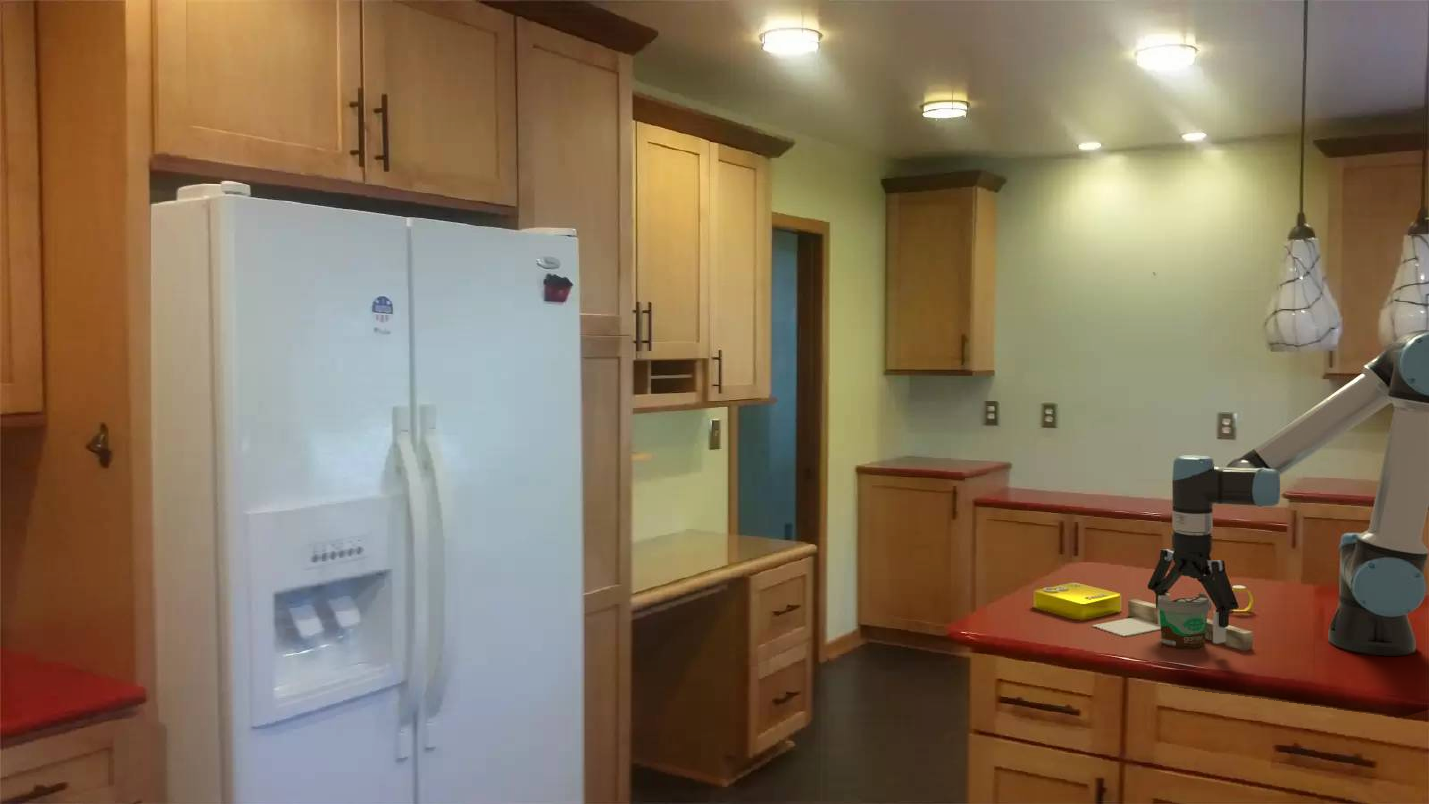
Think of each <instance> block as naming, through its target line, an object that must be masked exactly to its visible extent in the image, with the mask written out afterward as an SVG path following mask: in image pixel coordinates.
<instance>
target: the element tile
mask: <svg viewBox="0 0 1429 804" xmlns="http://www.w3.org/2000/svg"><path fill="white" fill-rule="evenodd" d="M1033 608H1035V609H1036V610H1040V611H1044V612H1047V611H1048V612H1047V613H1050V612H1052V613H1051V614H1054V615H1057V614H1059V615H1058V616H1061V615H1062V616H1061V617H1064V616H1065V617H1066V618H1068V619H1072V620H1075V619H1079V620H1078V621H1085V620H1084V619H1088V620H1092V619H1096V618H1100V617H1105V616H1109V614H1110V615H1113V613H1114V614H1117V613H1116V612H1118V613H1120V611H1121V612H1122V594H1121V593H1119V592H1115V591H1110V590H1107V589H1103V588H1099V587H1095V586H1090V585H1087V584H1082V583H1078V582H1068V583H1063V584H1058V585H1054V586H1050V587H1044V588H1039V589H1035V590H1034V591H1033Z"/></svg>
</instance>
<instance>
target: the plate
mask: <svg viewBox="0 0 1429 804" xmlns="http://www.w3.org/2000/svg"><path fill="white" fill-rule="evenodd" d="M1092 627H1093V628H1095V627H1097V628H1096V629H1098V628H1100V629H1099V630H1101V629H1103V630H1102V631H1104V630H1105V632H1107V631H1108V632H1107V633H1110V632H1111V634H1113V635H1116V634H1117V636H1119V637H1122V636H1123V638H1125V636H1126V637H1130V636H1135V635H1140V634H1146V633H1151V632H1155V631H1161V627H1160V626H1158V624H1156V623H1153V622H1150V621H1146V620H1143V619H1140V618H1136V617H1129V618H1123V619H1119V620H1118V619H1117V620H1113V621H1107V622H1103V623H1098V624H1097V623H1096V624H1092V626H1091V628H1092Z"/></svg>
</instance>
